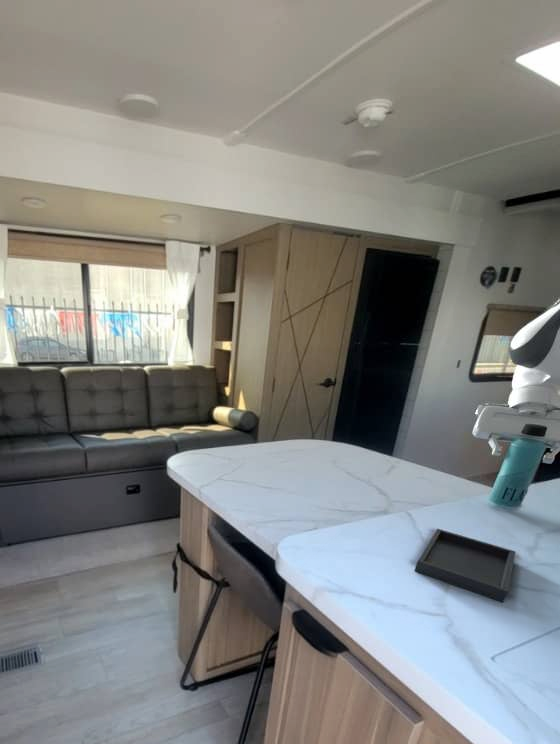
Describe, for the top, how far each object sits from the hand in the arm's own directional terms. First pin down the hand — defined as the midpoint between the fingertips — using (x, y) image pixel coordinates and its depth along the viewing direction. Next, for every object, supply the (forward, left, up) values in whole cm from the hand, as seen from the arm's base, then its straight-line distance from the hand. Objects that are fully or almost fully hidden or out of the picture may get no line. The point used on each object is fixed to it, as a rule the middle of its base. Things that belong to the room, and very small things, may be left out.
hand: (521, 457), depth 92 cm
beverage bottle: (0, +1, -13) cm, 13 cm away
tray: (+21, +32, -12) cm, 40 cm away
